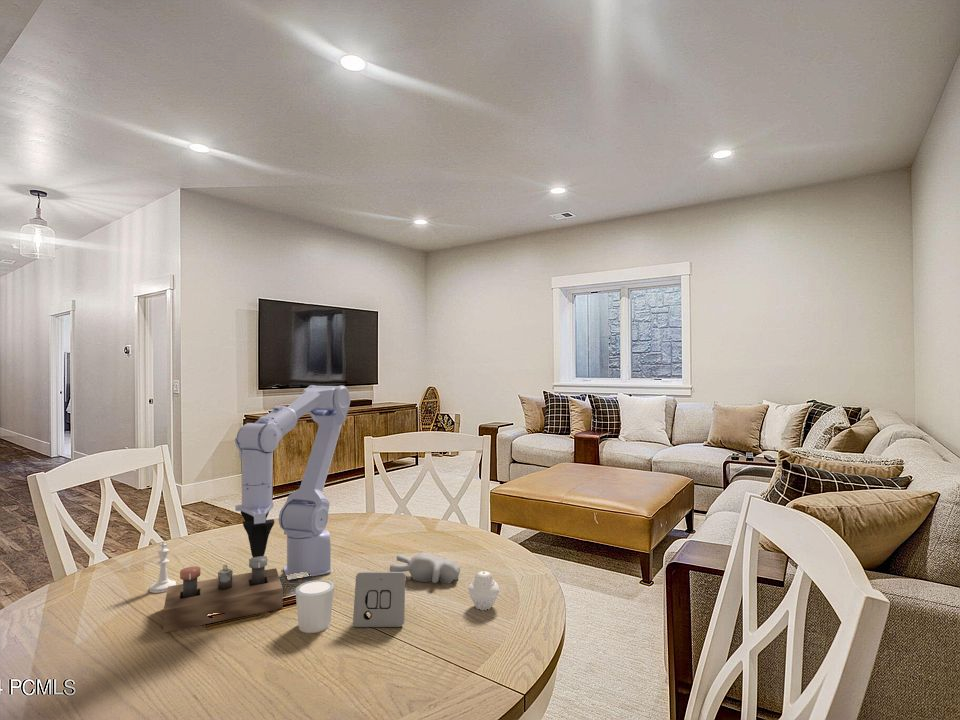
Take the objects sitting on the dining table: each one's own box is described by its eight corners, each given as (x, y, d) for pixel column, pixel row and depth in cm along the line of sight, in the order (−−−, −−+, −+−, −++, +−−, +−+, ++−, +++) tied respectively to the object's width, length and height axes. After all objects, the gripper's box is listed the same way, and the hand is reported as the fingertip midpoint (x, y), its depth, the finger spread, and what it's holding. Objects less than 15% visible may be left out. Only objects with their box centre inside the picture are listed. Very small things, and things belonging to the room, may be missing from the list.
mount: (276, 586, 111) (276, 568, 111) (282, 608, 102) (282, 587, 102) (167, 606, 102) (167, 586, 102) (163, 632, 92) (163, 610, 92)
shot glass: (341, 619, 97) (341, 582, 97) (319, 637, 91) (319, 597, 91) (311, 613, 100) (311, 577, 100) (286, 630, 93) (287, 591, 93)
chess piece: (163, 594, 108) (164, 546, 108) (143, 592, 109) (144, 544, 109) (181, 584, 113) (182, 538, 113) (162, 582, 114) (162, 536, 114)
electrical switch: (352, 628, 94) (353, 575, 95) (358, 617, 99) (359, 567, 100) (403, 628, 94) (404, 575, 95) (407, 617, 99) (408, 567, 100)
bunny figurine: (457, 570, 111) (389, 559, 112) (454, 594, 111) (386, 582, 112) (463, 554, 120) (400, 544, 121) (460, 576, 120) (397, 565, 122)
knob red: (200, 591, 101) (200, 565, 101) (200, 599, 98) (200, 572, 98) (180, 595, 100) (180, 568, 100) (179, 603, 96) (179, 575, 96)
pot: (232, 583, 104) (232, 562, 104) (232, 588, 101) (232, 566, 101) (217, 586, 102) (217, 564, 102) (217, 591, 100) (217, 568, 100)
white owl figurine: (484, 617, 98) (484, 580, 98) (461, 607, 102) (461, 571, 102) (505, 606, 103) (505, 570, 103) (482, 596, 107) (482, 562, 107)
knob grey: (266, 580, 107) (266, 554, 107) (268, 586, 104) (268, 560, 104) (248, 583, 105) (248, 557, 105) (249, 590, 102) (249, 563, 102)
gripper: (234, 477, 109) (233, 541, 109) (236, 492, 96) (236, 565, 96) (270, 474, 112) (269, 536, 112) (277, 488, 100) (276, 559, 99)
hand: (256, 549), depth 105 cm, fingers open, 7 cm apart
